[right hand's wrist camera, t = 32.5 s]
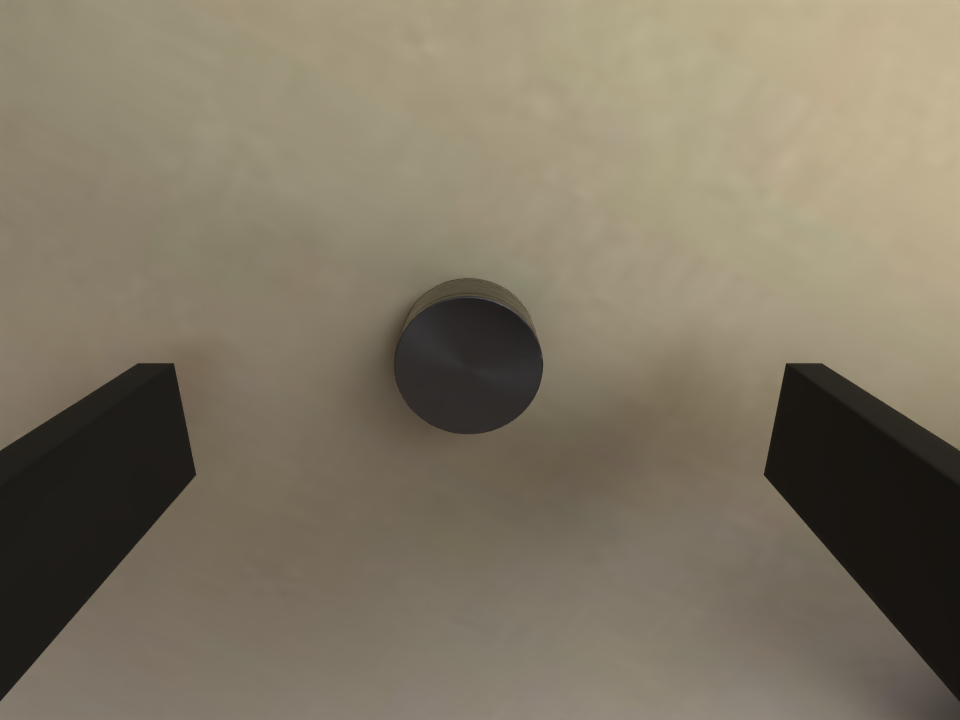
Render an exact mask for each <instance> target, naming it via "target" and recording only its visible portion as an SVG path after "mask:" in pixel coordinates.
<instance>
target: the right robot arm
mask: <svg viewBox="0 0 960 720" xmlns="http://www.w3.org/2000/svg"><path fill="white" fill-rule="evenodd" d="M195 476H196V472H195V467H194V462H193V457H192V452H191V447H190V442H189V437H188V432H187V427H186V422H185V417H184V412H183V407H182V402H181V397H180V392H179V387H178V382H177V377H176V372H175V367H174V363H138V364H136V365H135V366H133V367H132V368H130V369H129V370H127V371H125V372H124V373H122V374H121V375H119V376H118V377H116V378H114V379H113V380H111V381H110V382H108V383H106V384H105V385H103V386H102V387H100V388H99V389H97V390H95V391H94V392H92V393H91V394H89V395H88V396H86V397H84V398H83V399H81V400H80V401H78V402H76V403H75V404H73V405H72V406H70V407H69V408H67V409H65V410H64V411H62V412H61V413H59V414H58V415H56V416H54V417H53V418H51V419H50V420H48V421H46V422H45V423H43V424H42V425H40V426H39V427H37V428H35V429H34V430H32V431H31V432H29V433H28V434H26V435H24V436H23V437H21V438H20V439H18V440H16V441H15V442H13V443H12V444H10V445H9V446H7V447H5V448H4V449H2V450H1V451H0V701H1V700H2V699H3V698H4V696H5V695H6V694H7V693H8V692H9V691H10V690H11V688H12V687H13V686H14V685H15V684H16V683H17V681H18V680H19V679H20V678H21V677H22V676H23V674H24V673H25V672H26V671H27V670H28V669H29V668H30V666H31V665H32V664H33V663H34V662H35V661H36V659H37V658H38V657H39V656H40V655H41V654H42V653H43V651H44V650H45V649H46V648H47V647H48V646H49V644H50V643H51V642H52V641H53V640H54V639H55V638H56V636H57V635H58V634H59V633H60V632H61V631H62V629H63V628H64V627H65V626H66V625H67V624H68V622H69V621H70V620H71V619H72V618H73V617H74V616H75V614H76V613H77V612H78V611H79V610H80V609H81V607H82V606H83V605H84V604H85V603H86V602H87V601H88V599H89V598H90V597H91V596H92V595H93V594H94V592H95V591H96V590H97V589H98V588H99V587H100V585H101V584H102V583H103V582H104V581H105V580H106V579H107V577H108V576H109V575H110V574H111V573H112V572H113V570H114V569H115V568H116V567H117V566H118V565H119V564H120V562H121V561H122V560H123V559H124V558H125V557H126V555H127V554H128V553H129V552H130V551H131V550H132V549H133V547H134V546H135V545H136V544H137V543H138V542H139V540H140V539H141V538H142V537H143V536H144V535H145V533H146V532H147V531H148V530H149V529H150V528H151V527H152V525H153V524H154V523H155V522H156V521H157V520H158V518H159V517H160V516H161V515H162V514H163V513H164V512H165V510H166V509H167V508H168V507H169V506H170V505H171V503H172V502H173V501H174V500H175V499H176V498H177V496H178V495H179V494H180V493H181V492H182V491H183V490H184V488H185V487H186V486H187V485H188V484H189V483H190V481H191V480H192V479H193V478H194V477H195ZM764 476H765V477H766V478H767V479H768V480H769V481H770V483H771V484H772V485H773V486H774V487H775V488H776V490H777V491H778V492H779V493H780V494H781V495H782V496H783V498H784V499H785V500H786V501H787V502H788V503H789V505H790V506H791V507H792V508H793V509H794V510H795V512H796V513H797V514H798V515H799V516H800V517H801V518H802V520H803V521H804V522H805V523H806V524H807V525H808V527H809V528H810V529H811V530H812V531H813V532H814V533H815V535H816V536H817V537H818V538H819V539H820V540H821V542H822V543H823V544H824V545H825V546H826V547H827V549H828V550H829V551H830V552H831V553H832V554H833V555H834V557H835V558H836V559H837V560H838V561H839V562H840V564H841V565H842V566H843V567H844V568H845V569H846V570H847V572H848V573H849V574H850V575H851V576H852V577H853V579H854V580H855V581H856V582H857V583H858V584H859V585H860V587H861V588H862V589H863V590H864V591H865V592H866V594H867V595H868V596H869V597H870V598H871V599H872V601H873V602H874V603H875V604H876V605H877V606H878V607H879V609H880V610H881V611H882V612H883V613H884V614H885V616H886V617H887V618H888V619H889V620H890V621H891V622H892V624H893V625H894V626H895V627H896V628H897V629H898V631H899V632H900V633H901V634H902V635H903V636H904V638H905V639H906V640H907V641H908V642H909V643H910V644H911V646H912V647H913V648H914V649H915V650H916V651H917V653H918V654H919V655H920V656H921V657H922V658H923V659H924V661H925V662H926V663H927V664H928V665H929V666H930V668H931V669H932V670H933V671H934V672H935V673H936V674H937V676H938V677H939V678H940V679H941V680H942V681H943V683H944V684H945V685H946V686H947V687H948V688H949V690H950V691H951V692H952V693H953V694H954V695H955V696H956V698H957V699H958V700H959V701H960V451H959V450H958V449H956V448H955V447H953V446H951V445H950V444H948V443H947V442H945V441H944V440H942V439H940V438H939V437H937V436H936V435H934V434H932V433H931V432H929V431H928V430H926V429H925V428H923V427H921V426H920V425H918V424H917V423H915V422H914V421H912V420H910V419H909V418H907V417H906V416H904V415H902V414H901V413H899V412H898V411H896V410H895V409H893V408H891V407H890V406H888V405H887V404H885V403H884V402H882V401H880V400H879V399H877V398H876V397H874V396H872V395H871V394H869V393H868V392H866V391H865V390H863V389H861V388H860V387H858V386H857V385H855V384H854V383H852V382H850V381H849V380H847V379H846V378H844V377H842V376H841V375H839V374H838V373H836V372H835V371H833V370H831V369H830V368H828V367H827V366H825V365H824V364H822V363H786V367H785V372H784V377H783V382H782V387H781V392H780V397H779V402H778V407H777V412H776V417H775V422H774V427H773V432H772V437H771V442H770V447H769V452H768V457H767V462H766V467H765V472H764Z"/></svg>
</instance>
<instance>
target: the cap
mask: <svg viewBox="0 0 960 720" xmlns="http://www.w3.org/2000/svg"><path fill="white" fill-rule="evenodd" d="M394 371H395V377H396V382H397V385H398V388H399V390H400V392H401V394H402V396H403V398H404V400H405V401H406V403H407V404H408V406H409V407H410V408H411V409H412V410H413V411H414V412H415V413H416V414H417V415H418V416H419V417H420V418H422V419H423V420H425V421H426V422H428V423H429V424H431V425H433V426H435V427H437V428H440V429H442V430H445V431H449V432H453V433H460V434H477V433H484V432H488V431H492V430H495V429H498V428H500V427H502V426H504V425H506V424H508V423H510V422H511V421H513V420H514V419H516V418H517V417H518V416H519V415H520V414H521V413H523V412H524V410H525V409H526V408H527V407H528V406H529V405H530V403H531V402H532V400H533V399H534V397H535V395H536V393H537V391H538V388H539V385H540V383H541V378H542V373H543V359H542V352H541V348H540V344H539V341H538V338H537V335H536V332H535V329H534V326H533V323H532V320H531V318H530V315H529V313H528V312H527V310H526V308H525V307H524V306H523V304H522V303H521V302H520V301H519V300H518V299H517V298H516V297H515V296H514V295H513V294H512V293H511V292H509V291H508V290H506V289H505V288H503V287H501V286H499V285H497V284H495V283H492V282H489V281H485V280H480V279H457V280H453V281H449V282H446V283H443V284H441V285H438V286H437V287H435V288H433V289H431V290H430V291H428V292H427V293H426V294H425V295H423V296H422V297H421V298H420V299H419V300H418V301H417V303H416V304H415V305H414V307H413V308H412V310H411V311H410V313H409V315H408V317H407V320H406V322H405V325H404V328H403V331H402V333H401V336H400V339H399V342H398V344H397V348H396V352H395V359H394Z"/></svg>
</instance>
